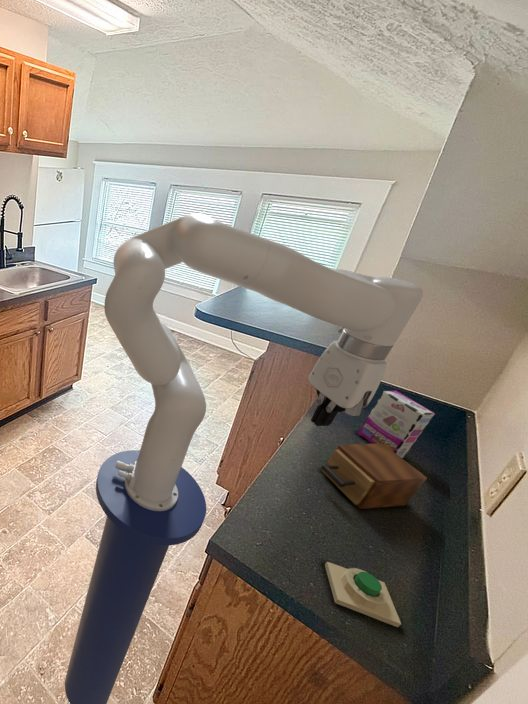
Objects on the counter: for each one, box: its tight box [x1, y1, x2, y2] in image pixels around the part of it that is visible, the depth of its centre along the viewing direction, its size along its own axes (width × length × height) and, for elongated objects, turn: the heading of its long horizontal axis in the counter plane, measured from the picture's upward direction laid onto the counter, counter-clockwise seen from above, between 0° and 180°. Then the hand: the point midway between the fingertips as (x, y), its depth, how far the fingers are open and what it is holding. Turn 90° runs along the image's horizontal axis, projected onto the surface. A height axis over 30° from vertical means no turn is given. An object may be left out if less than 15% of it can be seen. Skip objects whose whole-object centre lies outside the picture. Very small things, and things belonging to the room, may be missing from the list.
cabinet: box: [335, 443, 428, 510], centre depth 95 cm, size 14×12×10 cm
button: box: [354, 571, 382, 596], centre depth 71 cm, size 4×4×2 cm
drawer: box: [320, 449, 375, 506], centre depth 95 cm, size 17×10×8 cm, turn 99°
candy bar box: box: [357, 390, 436, 459], centre depth 110 cm, size 11×5×16 cm, turn 12°
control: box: [324, 561, 402, 628], centre depth 72 cm, size 10×8×3 cm
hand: (319, 423), depth 78 cm, fingers closed
